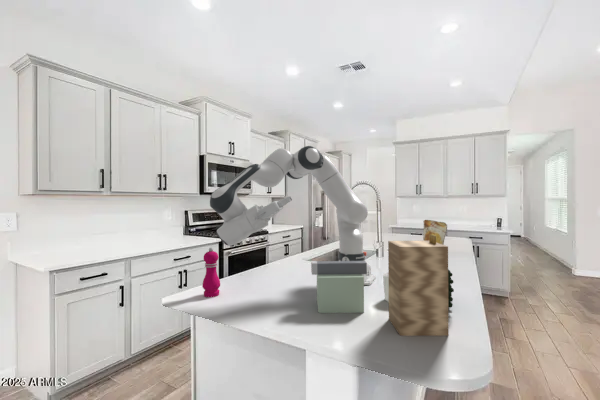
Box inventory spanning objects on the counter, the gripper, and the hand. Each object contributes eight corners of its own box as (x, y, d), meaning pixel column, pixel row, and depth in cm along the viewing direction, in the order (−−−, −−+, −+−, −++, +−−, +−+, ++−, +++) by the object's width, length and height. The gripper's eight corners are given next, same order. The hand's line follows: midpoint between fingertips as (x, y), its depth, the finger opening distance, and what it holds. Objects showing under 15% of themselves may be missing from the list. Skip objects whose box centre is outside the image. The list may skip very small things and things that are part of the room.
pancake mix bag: (429, 271, 165) (429, 219, 165) (449, 280, 146) (448, 222, 146) (417, 271, 165) (417, 219, 164) (435, 281, 146) (435, 222, 145)
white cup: (401, 305, 114) (401, 278, 114) (380, 301, 118) (380, 275, 118) (406, 299, 121) (406, 273, 121) (386, 295, 125) (386, 271, 125)
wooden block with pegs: (400, 335, 89) (399, 238, 89) (388, 319, 101) (388, 233, 101) (448, 335, 89) (448, 237, 89) (431, 319, 101) (430, 232, 101)
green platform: (318, 312, 107) (318, 277, 107) (316, 301, 119) (316, 269, 119) (364, 312, 107) (363, 277, 107) (357, 300, 119) (357, 268, 119)
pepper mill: (223, 293, 130) (223, 246, 130) (213, 298, 124) (213, 249, 123) (209, 291, 133) (208, 245, 133) (198, 296, 126) (198, 248, 126)
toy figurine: (461, 318, 105) (442, 290, 129) (462, 265, 103) (443, 246, 127) (431, 316, 107) (419, 289, 131) (432, 264, 105) (419, 246, 129)
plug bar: (311, 274, 111) (311, 263, 111) (311, 271, 115) (311, 261, 115) (366, 274, 111) (366, 262, 111) (364, 271, 115) (364, 260, 115)
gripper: (248, 211, 102) (284, 190, 102) (258, 208, 123) (287, 191, 122) (258, 227, 102) (294, 206, 102) (266, 222, 123) (295, 204, 122)
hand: (290, 198), depth 112 cm, fingers open, 8 cm apart
